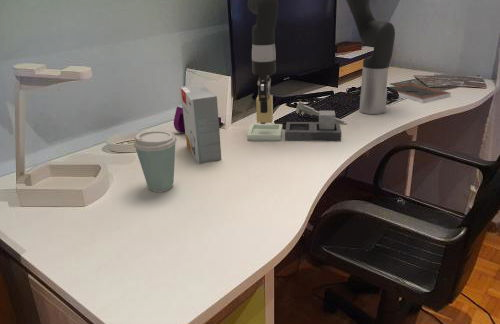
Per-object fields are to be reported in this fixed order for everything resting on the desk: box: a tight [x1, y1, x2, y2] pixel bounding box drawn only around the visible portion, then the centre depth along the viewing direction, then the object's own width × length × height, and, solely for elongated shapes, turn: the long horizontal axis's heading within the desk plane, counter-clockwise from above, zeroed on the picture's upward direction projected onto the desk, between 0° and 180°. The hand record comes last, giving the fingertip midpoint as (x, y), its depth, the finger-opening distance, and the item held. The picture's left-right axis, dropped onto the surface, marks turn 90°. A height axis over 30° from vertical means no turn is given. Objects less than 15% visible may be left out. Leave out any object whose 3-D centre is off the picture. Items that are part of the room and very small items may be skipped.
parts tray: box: [246, 123, 283, 142], centre depth 142 cm, size 11×11×2 cm
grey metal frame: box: [284, 121, 342, 142], centre depth 139 cm, size 18×10×3 cm, turn 83°
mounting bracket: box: [173, 106, 222, 134], centre depth 149 cm, size 10×8×18 cm
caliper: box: [295, 100, 348, 126], centre depth 153 cm, size 20×1×6 cm, turn 55°
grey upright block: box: [318, 110, 336, 131], centre depth 138 cm, size 5×5×8 cm
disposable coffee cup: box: [133, 129, 177, 193], centre depth 107 cm, size 11×11×15 cm
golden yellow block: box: [255, 94, 274, 124], centre depth 138 cm, size 5×5×8 cm
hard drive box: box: [179, 83, 222, 165], centre depth 126 cm, size 16×8×20 cm, turn 21°
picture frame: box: [388, 82, 452, 104], centre depth 180 cm, size 16×2×22 cm
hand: (264, 109), depth 138 cm, fingers closed on golden yellow block, 5 cm apart
